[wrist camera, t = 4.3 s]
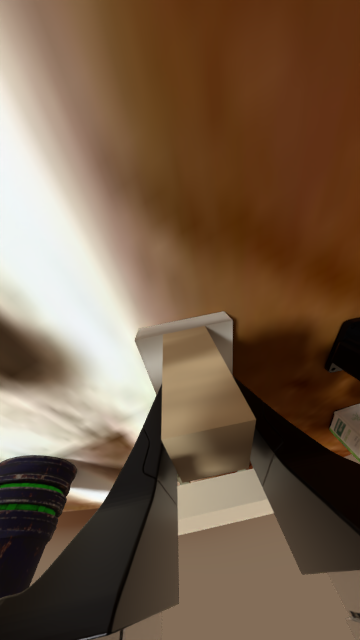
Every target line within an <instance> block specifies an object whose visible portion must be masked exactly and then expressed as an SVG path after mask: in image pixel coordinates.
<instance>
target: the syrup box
mask: <svg viewBox="0 0 360 640" xmlns="http://www.w3.org/2000/svg"><path fill="white" fill-rule="evenodd" d="M329 430H330V431H331V432H332V433H333V434H334V436H335V437H336V438H337V439H338V440H339V441H340V442H341V443H342V444H343V445H344V446H345V447H346V448H347V449H348V450H349V451H350V452H351V453H352V454H353V456H354V457H355V458H356V459H357V460H358V461H359V462H360V404H357V405H353V406H350V407H347V408H344V409H341V410H338V411H335V412H334V418H333V421H332V424H331V426H330V428H329Z"/></svg>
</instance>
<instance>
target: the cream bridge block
mask: <svg viewBox="0 0 360 640" xmlns="http://www.w3.org/2000/svg"><path fill="white" fill-rule="evenodd" d="M177 493H178V506H177V507H178V535H182V534H186V533H190V532H195V531H199V530H204V529H208V528H212V527H216V526H221V525H225V524H229V523H234V522H238V521H242V520H247V519H251V518H255V517H259V516H264V515H268V514H272V513H274V512H273V510H272V508H271V505H270V503H269V501H268V499H267V497H266V494H265V492H264V490H263V487H262V485H261V483H260V481H259V479H258V477H257V474H256V472H255V470H254V469H250V470H246V471H241V472H237V473H233V474H228V475H224V476H220V477H215V478H211V479H206V480H202V481H198V482H193V483H189V484H185V485H180V486H177Z"/></svg>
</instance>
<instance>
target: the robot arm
mask: <svg viewBox="0 0 360 640" xmlns="http://www.w3.org/2000/svg"><path fill="white" fill-rule="evenodd" d="M325 369H326V370H327V371H328V372H330V373H331V372H336V371H341V370H344V371H345V372H347V373H348V374H350V375H351V376H353V377H354V378H356V379H357V380H359V381H360V318H357V319H352V320H349V321H347V322H345V323H344V325H343V327H342V329H341V331H340V334H339V336H338V338H337V341H336V343H335V345H334V348H333V350H332V353H331V355H330V357H329V360H328V362H327V364H326V367H325ZM233 378H234V380H235V382H236V384H237V385H238V387H239V389H240V391H241V393H242V394H243V396H244V398H245V400H246V402H247V404H248V405H249V407H250V409H251V411H252V413H253V415H254V416H255V418H256V424H255V430H254V437H253V443H252V450H251V456H250V461H251V463H252V466H253V468H254V470H255V472H256V474H257V477H258V479H259V481H260V483H261V485H262V487H263V490H264V492H265V494H266V497H267V499H268V501H269V503H270V505H271V508H272V510H273V512H274V514H275V516H276V518H277V521H278V523H279V525H280V527H281V529H282V532H283V534H284V536H285V538H286V540H287V542H288V545H289V547H290V549H291V551H292V554H293V556H294V558H295V560H296V562H297V565H298V567H299V569H300V571H301V573H302V574H303V575H304V574H316V573H328V575H329V577H330V579H331V581H332V583H333V585H334V587H335V589H336V591H337V593H338V595H339V597H340V599H341V601H342V603H343V605H344V607H345V609H346V611H347V613H348V615H349V618H346V621H347V624H348V626H349V628H350V630H351V632H352V634H353V636H354V638H355V640H360V464H358V463H356V462H353V461H351V460H349V459H346V458H344V457H342V456H340V455H338V454H336V453H334V452H332V451H330V450H329V449H327V448H325V447H324V446H322V445H321V444H319V443H318V442H316V441H315V440H314V439H312V438H311V437H310V436H308V435H307V434H305V433H304V432H303V431H301V430H300V429H298V428H297V427H296V426H294V425H293V424H291V423H290V422H289V421H287V420H286V419H285V418H283V417H282V416H280V415H279V414H278V413H277V412H275V411H274V410H273V409H272V408H270V407H269V406H268V405H267V404H266V403H265V402H263V401H262V400H261V399H260V398H258V397H257V396H256V395H255V394H254V393H253V392H251V391H250V390H249V389H248V388H247V387H245V386H244V385H243V384H242V383H241V382H239V381H238V380H237V379H236V378H235V377H234V376H233ZM161 425H162V384H161V386H160V389H159V391H158V393H157V395H156V398H155V400H154V402H153V405H152V407H151V409H150V412H149V414H148V416H147V418H146V421H145V423H144V425H143V428H142V430H141V432H140V434H139V437H138V439H137V441H136V443H135V445H134V447H133V449H132V451H131V453H130V455H129V457H128V459H127V461H126V463H125V464H124V466H123V468H122V470H121V472H120V474H119V476H118V477H117V479H116V481H115V483H114V485H113V487H112V489H111V490H110V492H109V494H108V496H107V497H106V499H105V500H104V502H103V503H102V505H101V506H100V508H99V509H98V510H97V512H96V513H95V514H94V515H93V516H92V518H91V519H90V520H89V521H88V523H87V524H86V525H85V526H84V527H83V528H82V529H81V530H80V532H79V533H78V534H77V535H76V536H75V538H74V539H73V540H72V541H71V542H70V544H69V545H68V546H67V547H66V548H65V549H64V551H63V552H62V553H61V554H60V555H59V557H58V558H57V559H56V560H55V561H54V562H53V563H52V565H51V566H50V567H49V568H48V569H47V570H46V571H45V572H44V574H43V575H42V576H41V577H40V578H39V579H38V580H37V581H36V582H35V583H33V584H32V586H30V587H29V588H27V589H26V590H24V591H23V592H20V593H18V594H14V595H9V596H5V597H2V598H0V640H162V611H164V610H166V609H169V608H171V607H173V606H175V605H177V604H179V579H178V578H179V577H178V576H179V575H178V507H177V506H178V493H177V471H176V469H175V467H174V465H173V463H172V460H171V458H170V456H169V454H168V452H167V450H166V448H165V446H164V444H163V442H162V440H161Z"/></svg>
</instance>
